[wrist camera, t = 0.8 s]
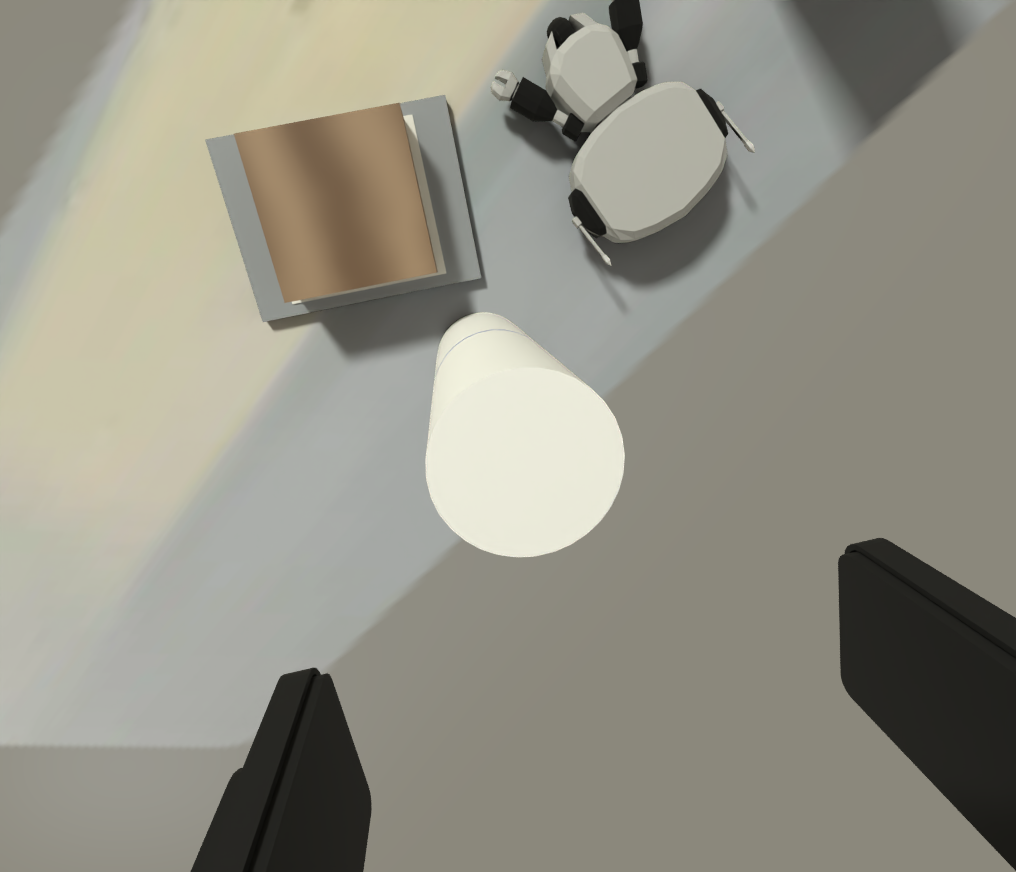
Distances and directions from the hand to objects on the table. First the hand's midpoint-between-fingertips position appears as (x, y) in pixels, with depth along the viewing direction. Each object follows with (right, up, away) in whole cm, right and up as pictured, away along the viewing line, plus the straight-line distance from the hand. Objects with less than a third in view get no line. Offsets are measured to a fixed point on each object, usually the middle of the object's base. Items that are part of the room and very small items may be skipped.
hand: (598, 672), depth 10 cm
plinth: (-13, +20, +29) cm, 37 cm away
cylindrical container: (-4, +10, +34) cm, 36 cm away
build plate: (-13, +20, +30) cm, 38 cm away
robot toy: (+6, +26, +31) cm, 41 cm away
